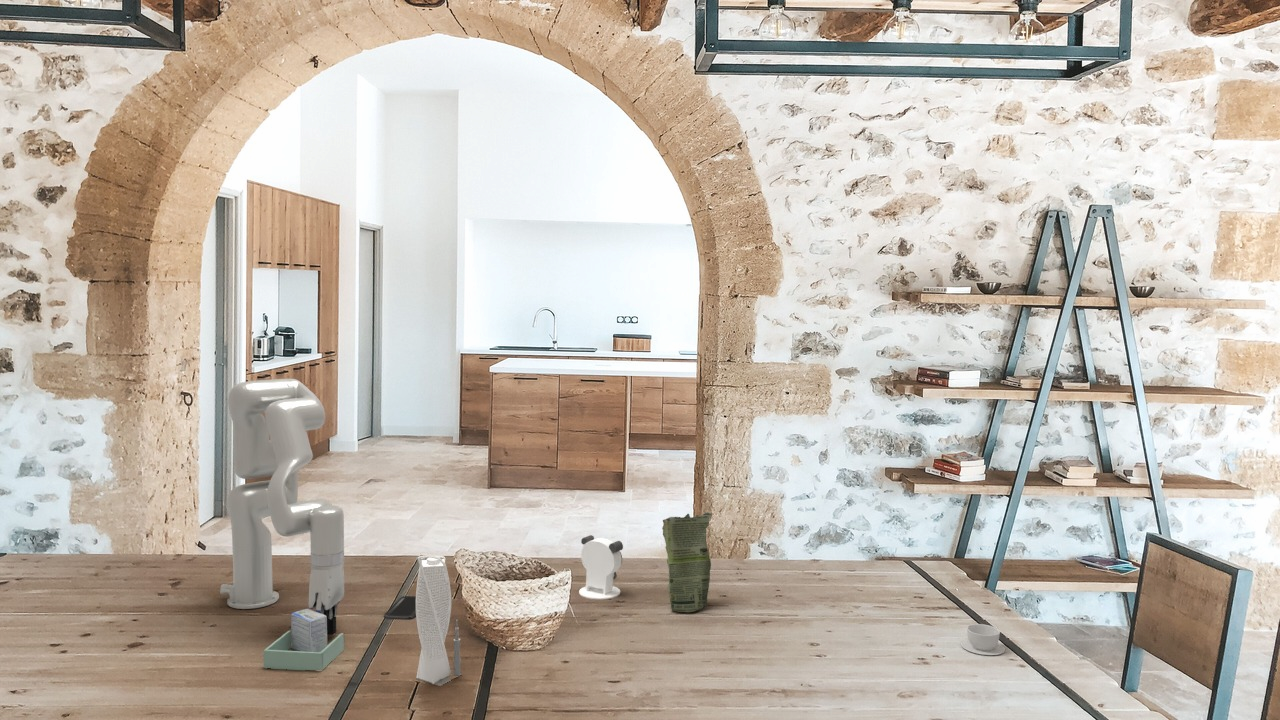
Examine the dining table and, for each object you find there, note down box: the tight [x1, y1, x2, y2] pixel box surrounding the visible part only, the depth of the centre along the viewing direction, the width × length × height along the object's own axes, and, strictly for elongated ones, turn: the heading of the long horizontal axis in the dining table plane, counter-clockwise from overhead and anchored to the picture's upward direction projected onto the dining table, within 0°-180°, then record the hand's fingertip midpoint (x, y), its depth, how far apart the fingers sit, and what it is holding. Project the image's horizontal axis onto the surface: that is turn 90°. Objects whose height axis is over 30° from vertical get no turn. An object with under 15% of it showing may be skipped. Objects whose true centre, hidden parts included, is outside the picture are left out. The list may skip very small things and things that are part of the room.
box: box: [262, 630, 345, 671], centre depth 209 cm, size 13×12×4 cm
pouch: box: [661, 511, 712, 613], centre depth 246 cm, size 11×12×25 cm
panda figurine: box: [578, 534, 624, 600], centre depth 256 cm, size 12×11×15 cm
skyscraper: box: [415, 554, 462, 687], centre depth 200 cm, size 8×8×28 cm
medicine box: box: [290, 608, 328, 652], centre depth 214 cm, size 8×4×9 cm, turn 52°
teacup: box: [960, 623, 1006, 656], centre depth 221 cm, size 10×10×5 cm
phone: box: [383, 595, 416, 621], centre depth 242 cm, size 8×1×15 cm
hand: (328, 633), depth 222 cm, fingers closed
